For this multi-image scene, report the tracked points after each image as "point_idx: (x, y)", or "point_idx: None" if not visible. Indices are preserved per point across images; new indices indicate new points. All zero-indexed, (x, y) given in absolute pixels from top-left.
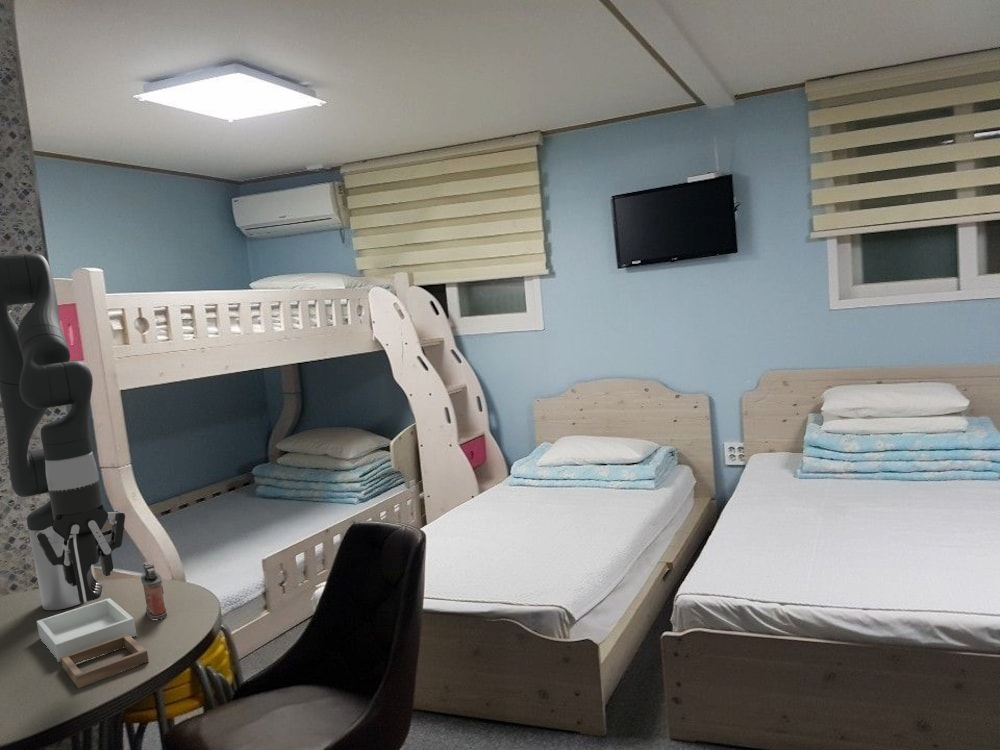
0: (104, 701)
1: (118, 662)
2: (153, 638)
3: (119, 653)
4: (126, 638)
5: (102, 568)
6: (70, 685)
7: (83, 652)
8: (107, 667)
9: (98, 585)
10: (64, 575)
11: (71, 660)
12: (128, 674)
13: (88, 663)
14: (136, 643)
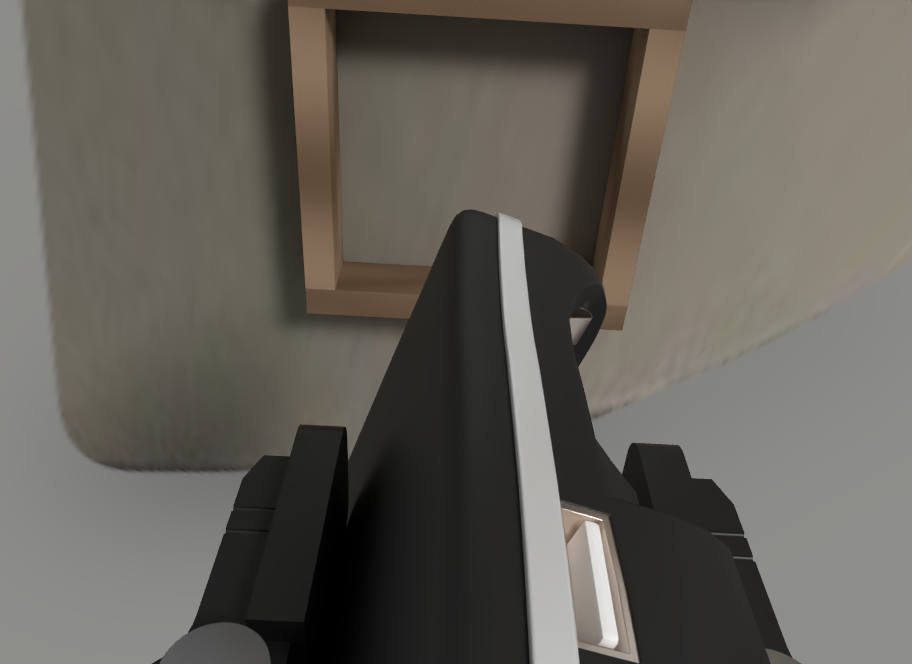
0: None
1: None
2: (793, 30)
3: (581, 61)
4: (648, 70)
5: (642, 493)
6: (294, 220)
7: (410, 13)
8: None
9: (574, 314)
10: (230, 529)
11: (326, 93)
12: None
13: (422, 34)
14: (641, 198)
